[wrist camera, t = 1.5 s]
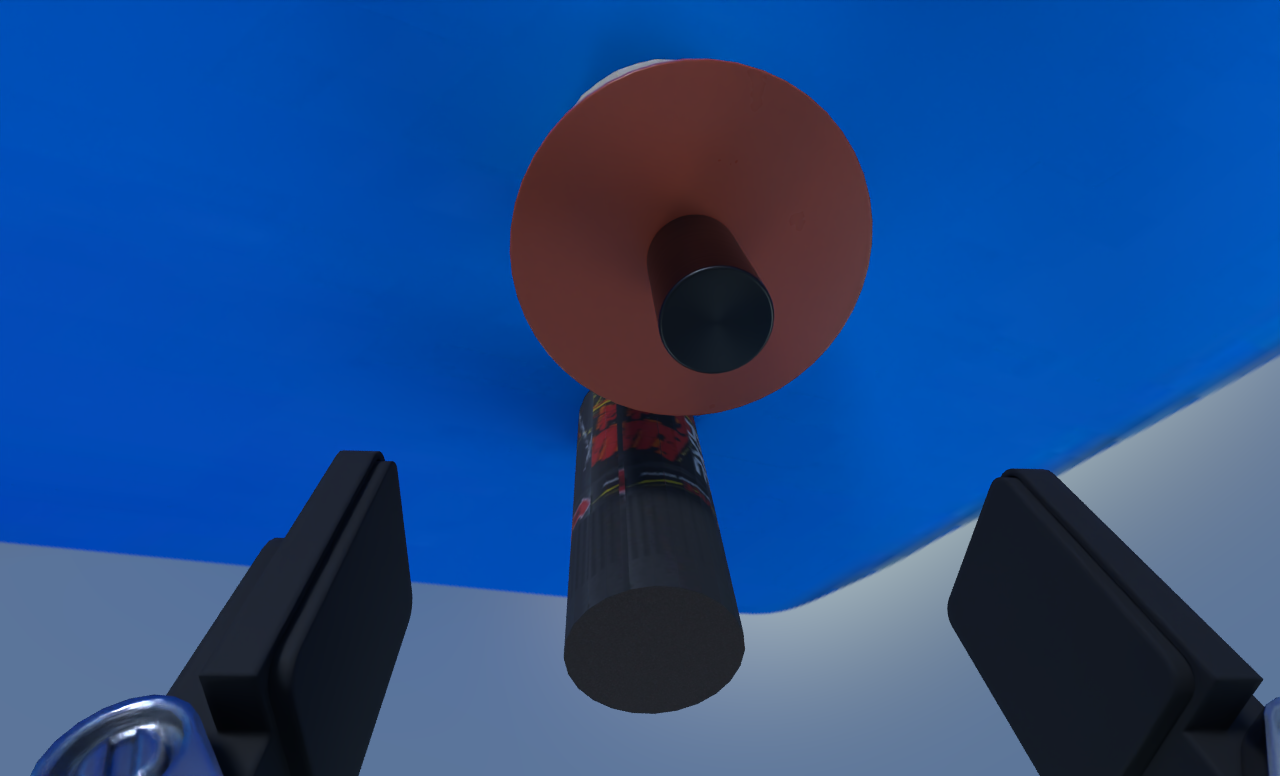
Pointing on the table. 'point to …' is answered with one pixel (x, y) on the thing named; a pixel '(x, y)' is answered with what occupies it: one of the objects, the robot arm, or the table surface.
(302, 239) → the table surface
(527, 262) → the lid
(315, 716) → the robot arm
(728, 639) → the deodorant
